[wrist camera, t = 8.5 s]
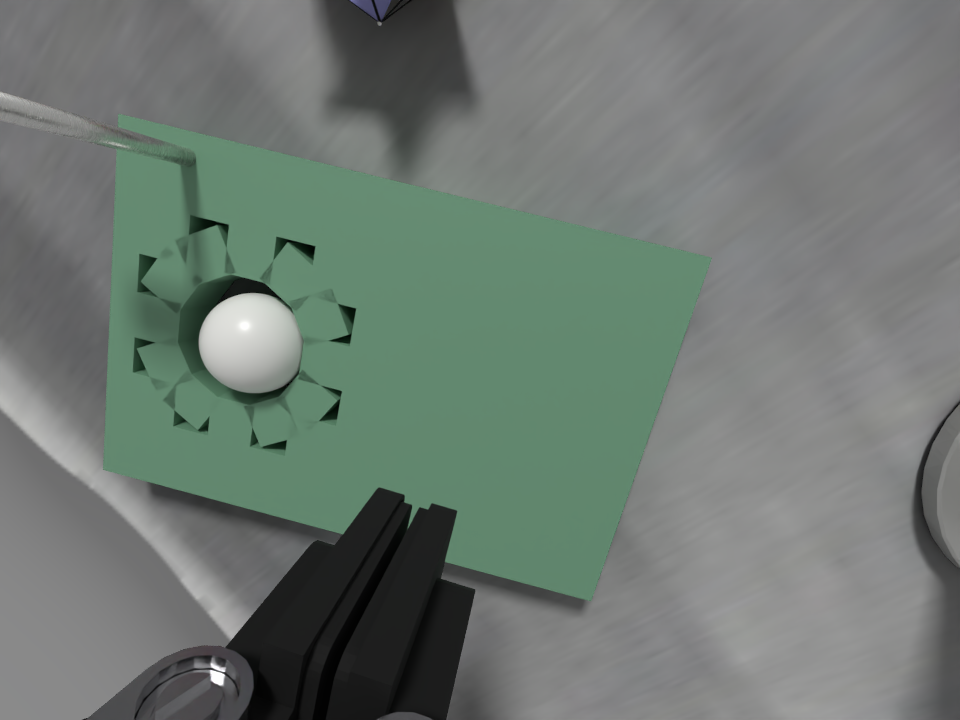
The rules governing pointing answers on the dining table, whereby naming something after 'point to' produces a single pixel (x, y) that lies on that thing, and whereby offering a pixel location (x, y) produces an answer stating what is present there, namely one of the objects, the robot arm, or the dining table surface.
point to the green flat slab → (391, 353)
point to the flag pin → (89, 130)
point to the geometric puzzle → (376, 8)
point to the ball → (251, 343)
